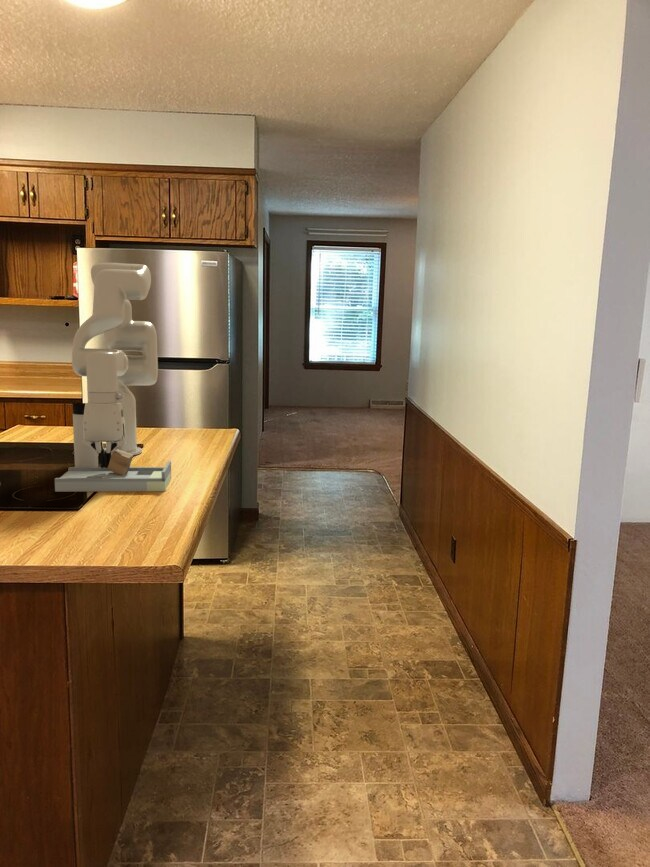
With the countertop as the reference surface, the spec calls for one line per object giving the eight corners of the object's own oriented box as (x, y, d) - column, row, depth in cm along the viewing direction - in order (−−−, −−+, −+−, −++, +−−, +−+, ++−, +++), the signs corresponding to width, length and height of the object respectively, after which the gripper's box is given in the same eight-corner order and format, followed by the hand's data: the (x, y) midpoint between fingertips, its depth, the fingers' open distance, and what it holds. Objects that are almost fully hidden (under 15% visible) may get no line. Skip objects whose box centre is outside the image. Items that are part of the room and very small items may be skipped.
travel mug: (69, 471, 180) (66, 401, 177) (87, 467, 186) (84, 399, 183) (84, 474, 178) (82, 403, 174) (103, 470, 183) (100, 401, 180)
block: (111, 466, 171) (117, 448, 171) (127, 471, 172) (133, 454, 171) (106, 469, 167) (112, 452, 166) (123, 475, 167) (129, 458, 167)
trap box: (69, 478, 172) (68, 460, 171) (171, 478, 175) (171, 461, 175) (55, 491, 160) (54, 472, 159) (165, 491, 163) (164, 472, 162)
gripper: (134, 397, 171) (136, 463, 174) (77, 396, 169) (80, 463, 172) (129, 400, 163) (131, 470, 166) (69, 399, 162) (72, 470, 165)
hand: (105, 466), depth 169 cm, fingers closed
